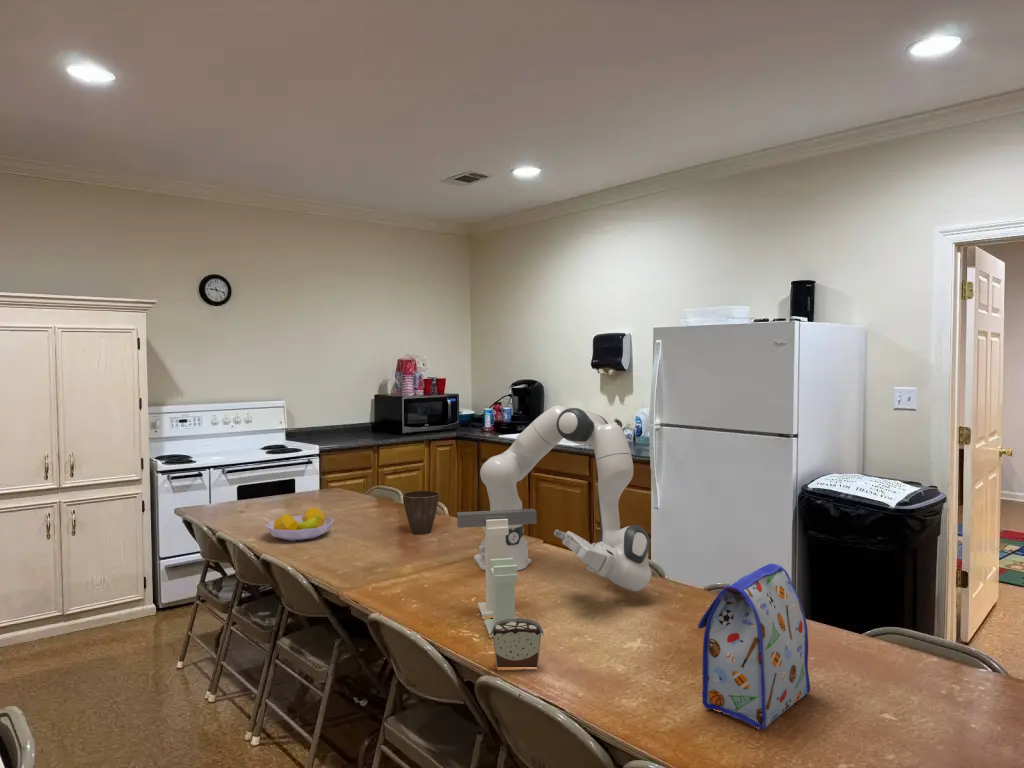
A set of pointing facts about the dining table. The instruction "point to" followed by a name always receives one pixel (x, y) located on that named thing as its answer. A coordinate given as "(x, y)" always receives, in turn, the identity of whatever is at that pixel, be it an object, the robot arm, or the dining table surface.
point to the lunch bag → (755, 648)
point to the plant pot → (421, 510)
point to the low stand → (502, 590)
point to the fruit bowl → (300, 525)
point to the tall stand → (493, 557)
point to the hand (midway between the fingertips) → (559, 536)
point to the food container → (517, 642)
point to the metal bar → (496, 517)
